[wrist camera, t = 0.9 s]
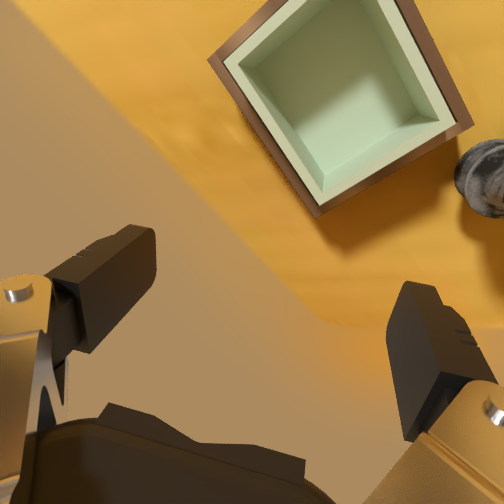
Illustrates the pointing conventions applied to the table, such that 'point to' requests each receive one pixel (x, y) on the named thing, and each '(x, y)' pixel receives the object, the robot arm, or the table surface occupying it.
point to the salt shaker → (483, 178)
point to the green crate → (339, 89)
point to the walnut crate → (463, 122)
